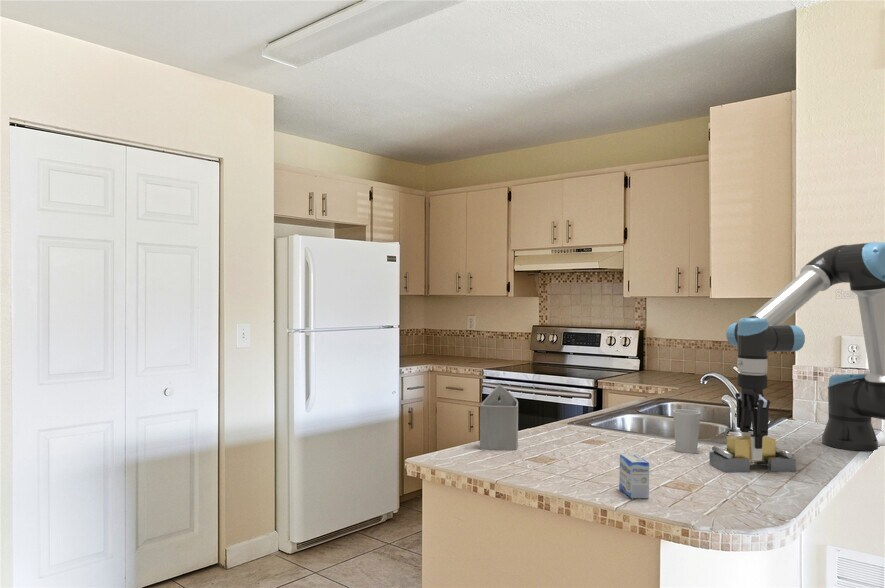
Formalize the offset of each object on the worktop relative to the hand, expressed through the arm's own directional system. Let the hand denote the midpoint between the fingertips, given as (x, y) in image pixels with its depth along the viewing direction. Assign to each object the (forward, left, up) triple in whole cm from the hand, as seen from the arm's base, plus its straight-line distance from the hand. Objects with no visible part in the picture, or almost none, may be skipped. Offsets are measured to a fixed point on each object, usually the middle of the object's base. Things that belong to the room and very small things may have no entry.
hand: (751, 457), depth 175 cm
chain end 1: (+6, 0, -3) cm, 7 cm away
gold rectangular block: (0, 0, -1) cm, 1 cm away
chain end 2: (-7, 0, -3) cm, 7 cm away
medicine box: (+41, +22, -3) cm, 47 cm away
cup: (+9, -20, -3) cm, 22 cm away
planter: (+64, -25, -3) cm, 69 cm away
